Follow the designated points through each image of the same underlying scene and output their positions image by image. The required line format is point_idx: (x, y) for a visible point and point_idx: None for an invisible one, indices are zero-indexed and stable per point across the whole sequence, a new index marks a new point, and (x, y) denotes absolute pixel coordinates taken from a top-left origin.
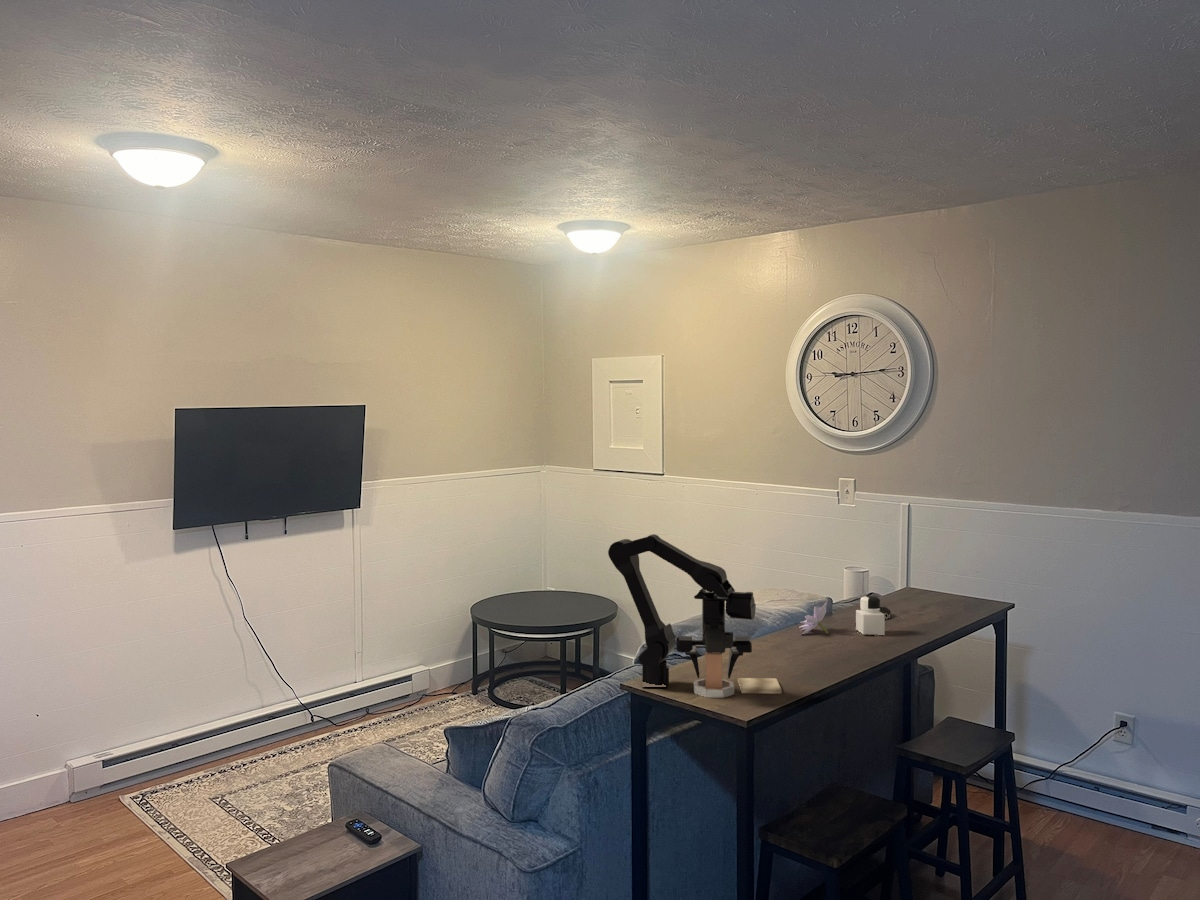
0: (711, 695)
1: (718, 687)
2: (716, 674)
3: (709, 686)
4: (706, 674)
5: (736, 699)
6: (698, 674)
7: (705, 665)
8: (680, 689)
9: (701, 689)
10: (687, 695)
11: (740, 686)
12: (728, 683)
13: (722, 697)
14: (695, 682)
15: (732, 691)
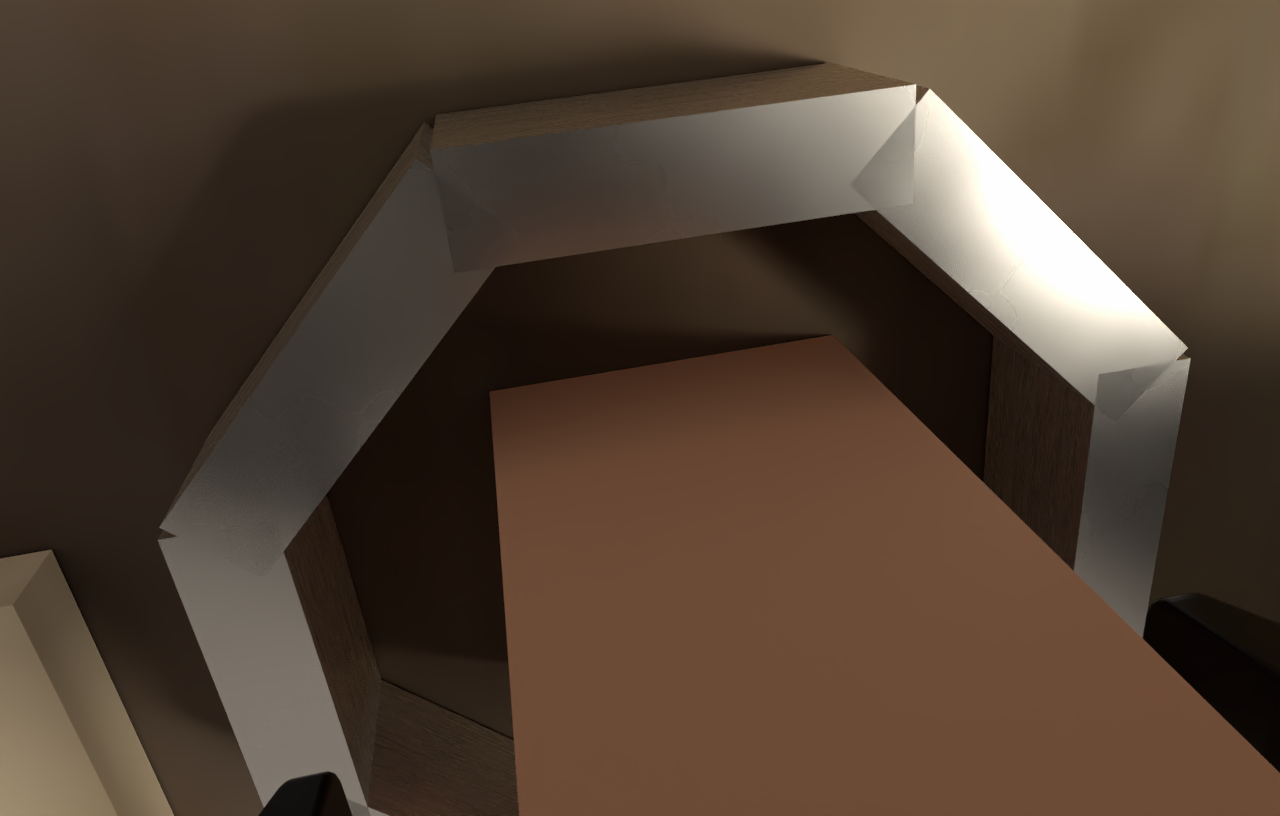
0: (738, 77)
1: (590, 446)
2: (728, 659)
3: (822, 415)
4: (1079, 590)
5: (49, 31)
6: (1256, 644)
7: None
8: (1265, 501)
9: (1025, 201)
10: (1225, 158)
11: (130, 809)
12: (381, 784)
13: (452, 112)
14: (1112, 604)
15: (223, 422)
